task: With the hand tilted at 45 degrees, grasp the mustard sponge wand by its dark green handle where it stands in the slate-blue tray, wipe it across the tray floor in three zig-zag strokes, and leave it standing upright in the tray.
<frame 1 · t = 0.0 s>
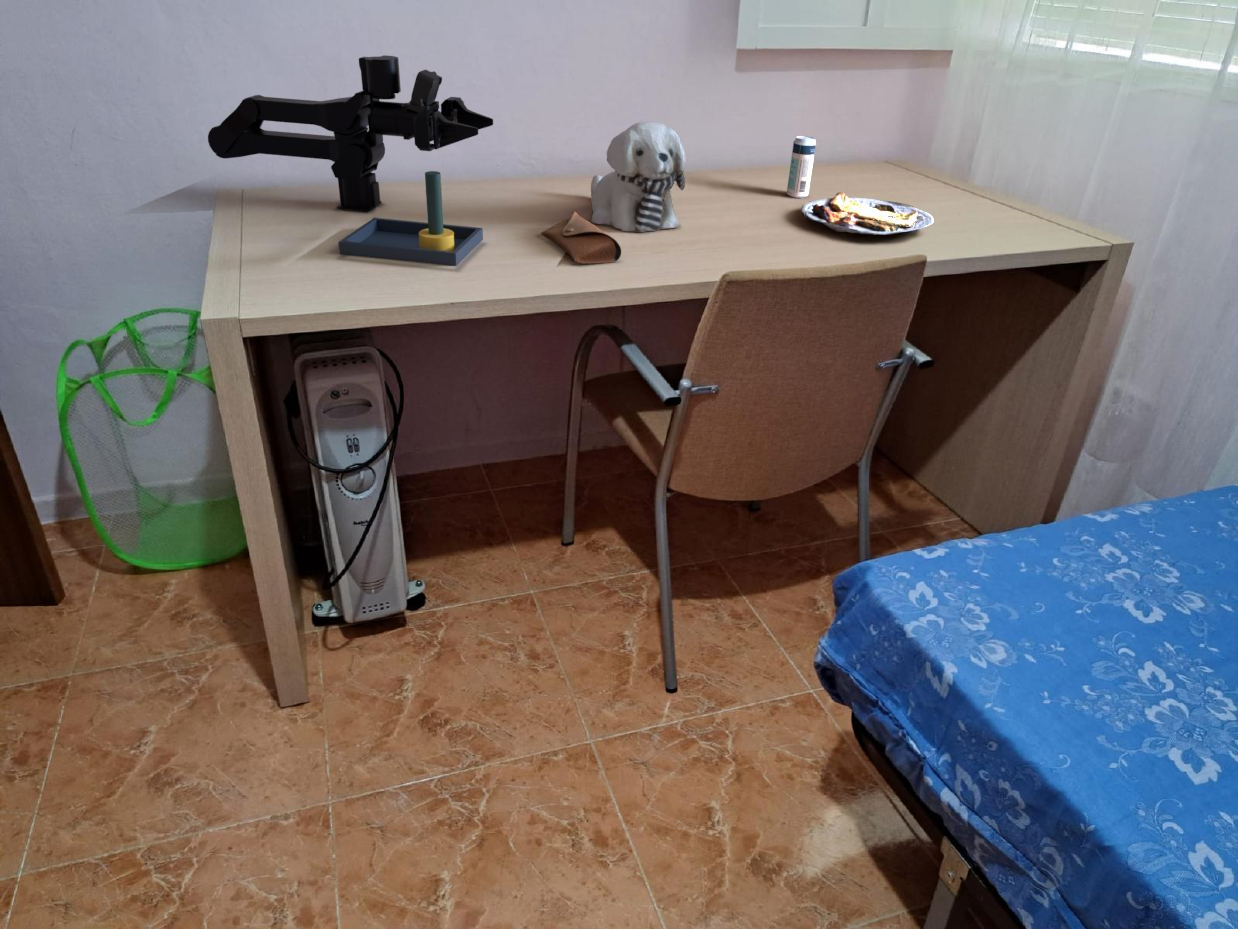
hand: (485, 126, 161), 17 cm above the table, tool horizontal, fingers open, 9 cm apart
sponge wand: (437, 253, 148), point 1 cm above the table, touching tray
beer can: (797, 196, 195), on the table
sunglasses case: (577, 249, 157), on the table
tray: (414, 250, 151), on the table
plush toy: (632, 215, 177), on the table
food plate: (863, 225, 178), on the table
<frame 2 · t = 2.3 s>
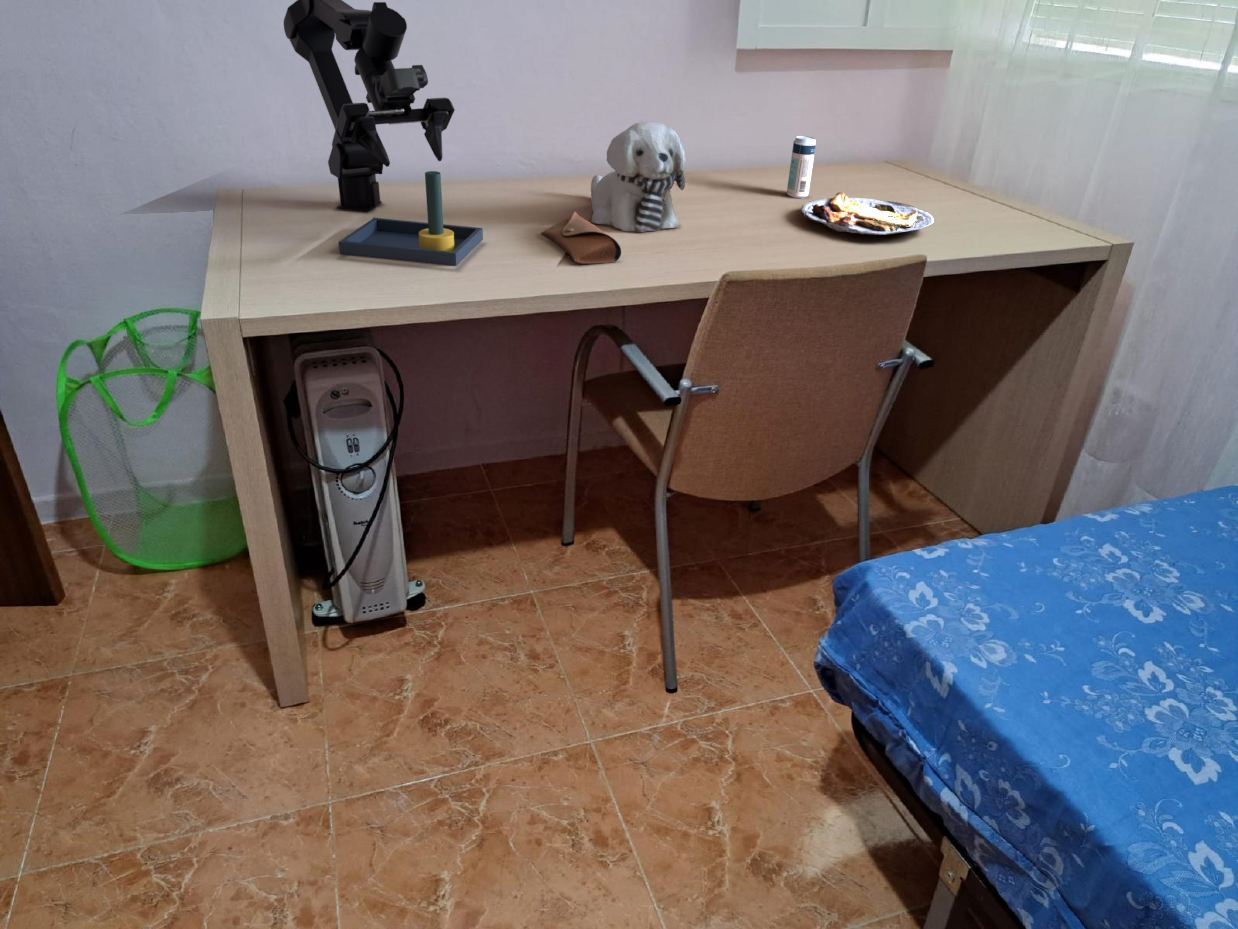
hand: (414, 162, 147), 14 cm above the table, tool tilted 45°, fingers open, 9 cm apart
nothing on the table moved.
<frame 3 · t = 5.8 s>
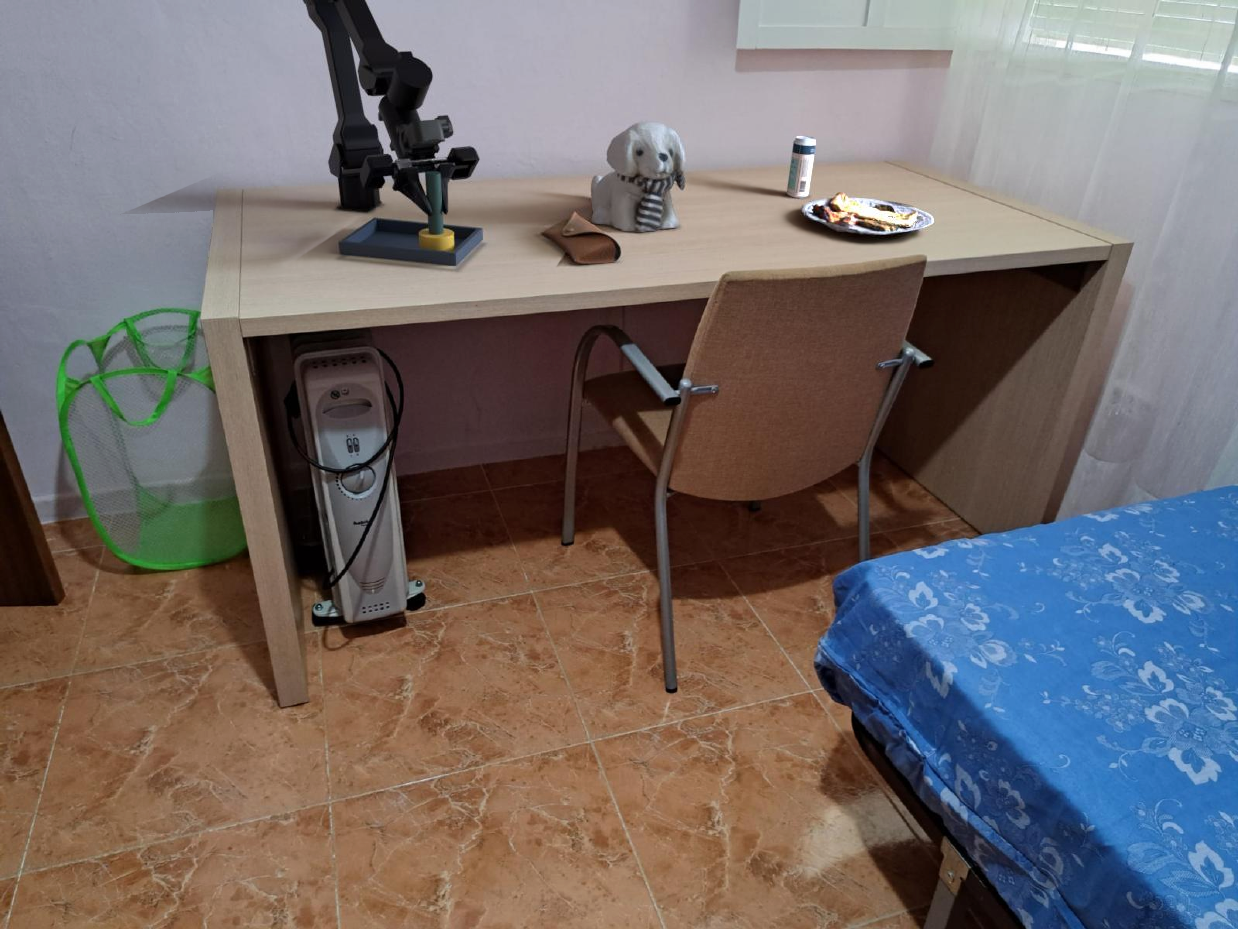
hand: (438, 214, 144), 8 cm above the table, tool tilted 45°, fingers closed on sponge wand, 2 cm apart
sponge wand: (437, 253, 148), point 1 cm above the table, touching gripper, tray
everything else where it was.
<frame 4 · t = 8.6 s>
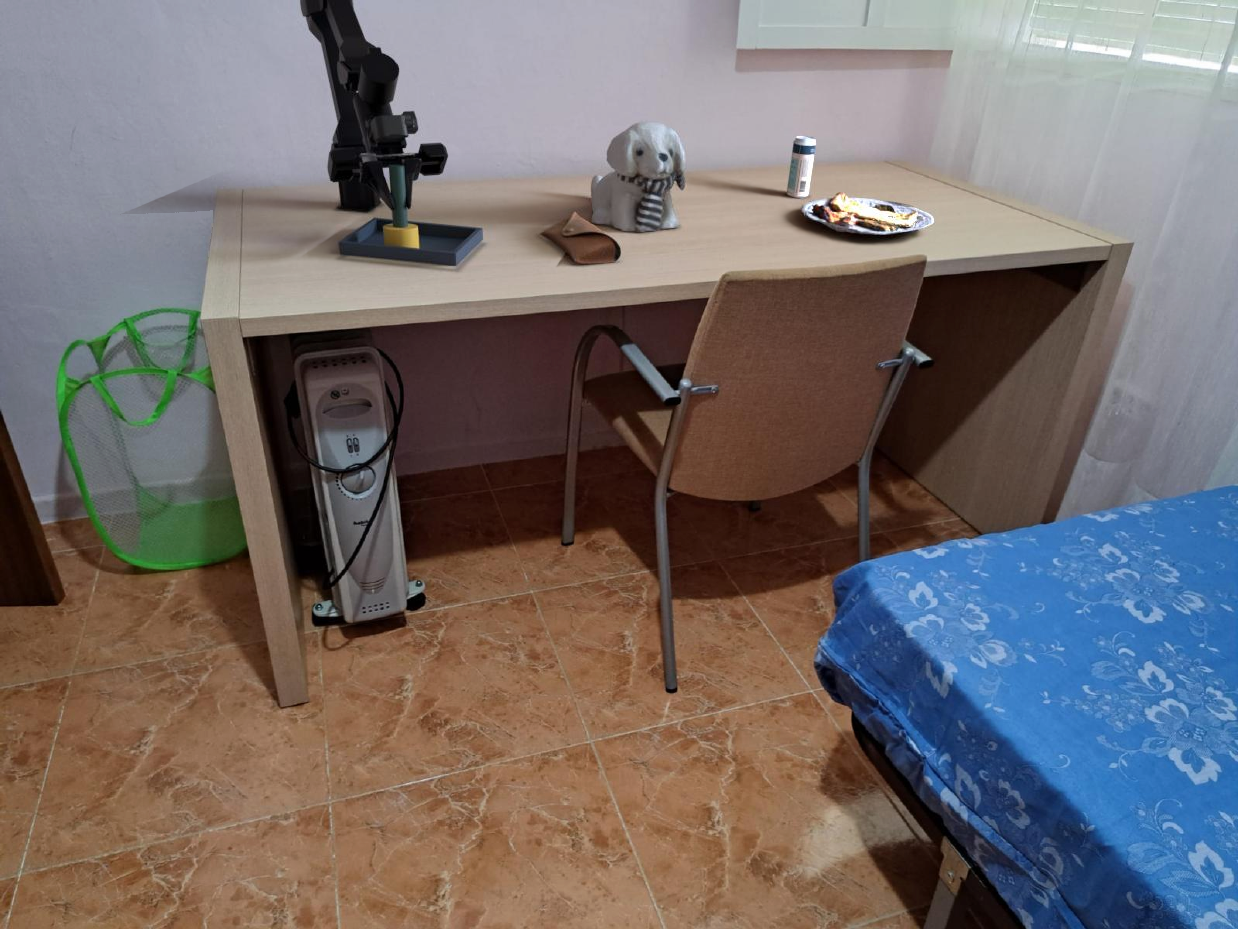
hand: (401, 208, 145), 8 cm above the table, tool tilted 45°, fingers closed on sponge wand, 2 cm apart
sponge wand: (401, 247, 149), point 1 cm above the table, tilted 5°, touching gripper
everything else where it was.
when the fingers open (8 cm above the table, at t = 11.6 s): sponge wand stays where it is, resting on tray.
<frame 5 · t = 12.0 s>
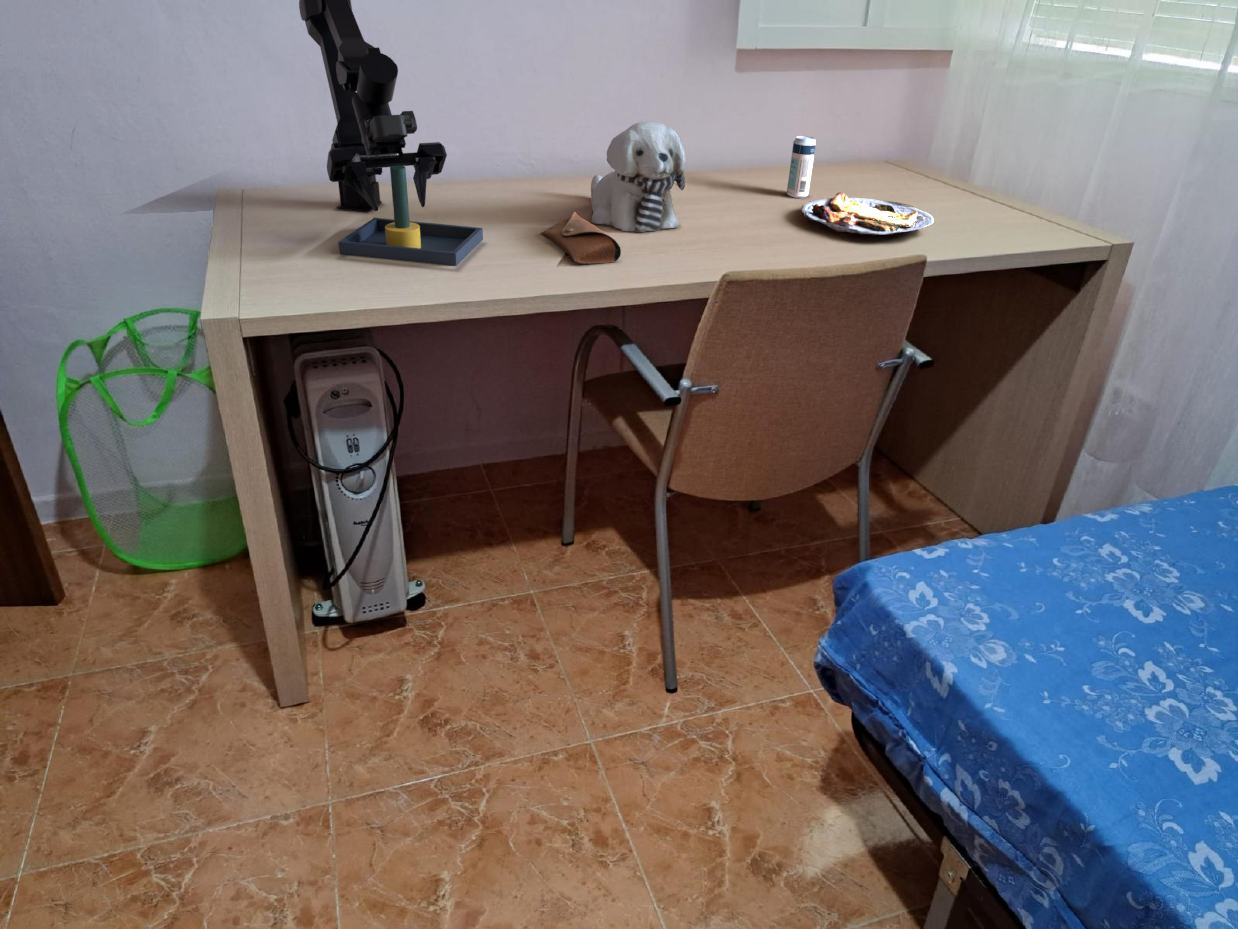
hand: (400, 207, 146), 8 cm above the table, tool tilted 45°, fingers open, 7 cm apart
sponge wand: (404, 247, 150), point 1 cm above the table, touching tray
everything else where it was.
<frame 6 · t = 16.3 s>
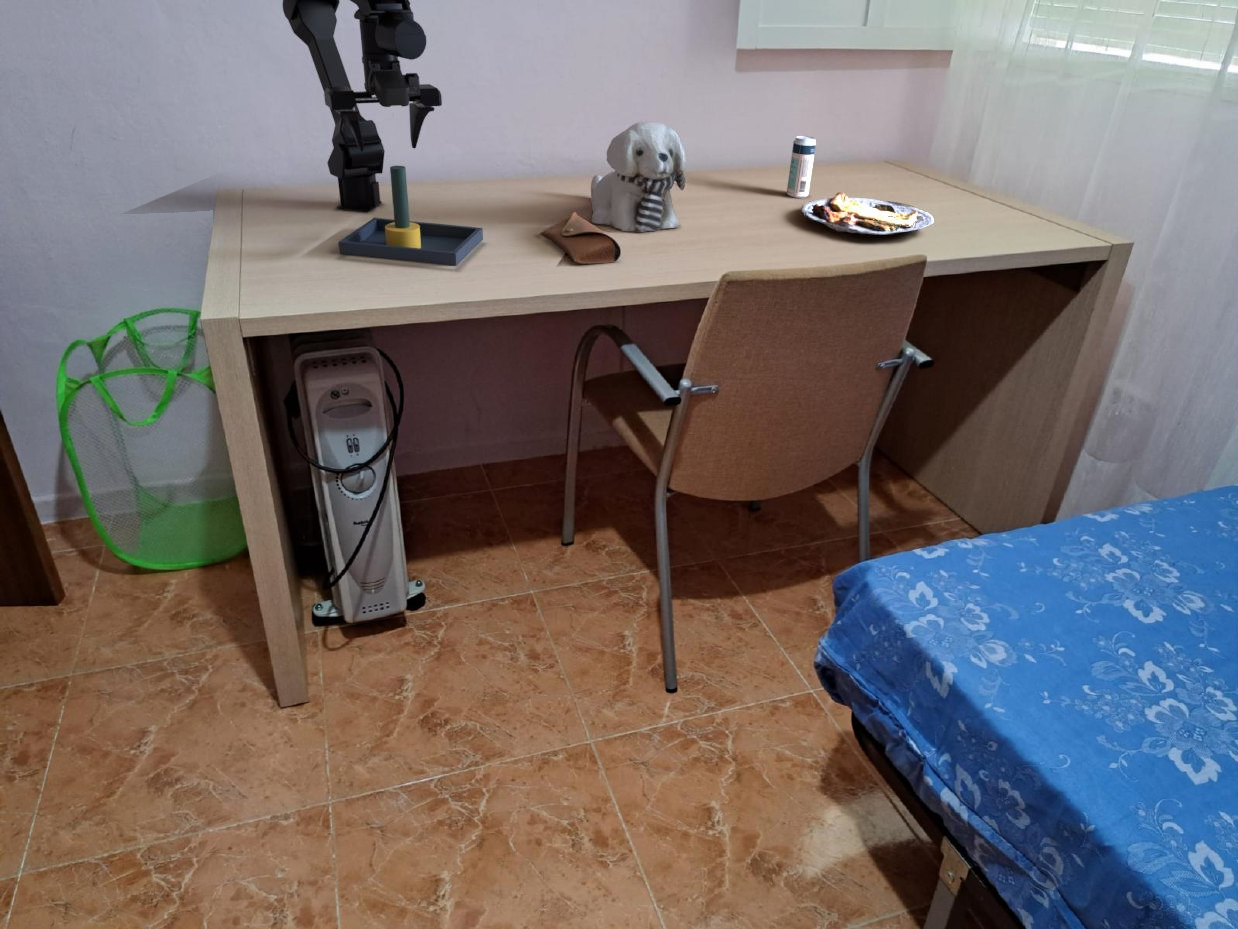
hand: (388, 149, 158), 13 cm above the table, tool pointing down, fingers open, 9 cm apart
nothing on the table moved.
at the end: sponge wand moved 6.5 cm from its start; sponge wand inside the target area in the tray (1.7 cm from its centre), point 0.8 cm above the tray's base; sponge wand tilted 0° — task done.
